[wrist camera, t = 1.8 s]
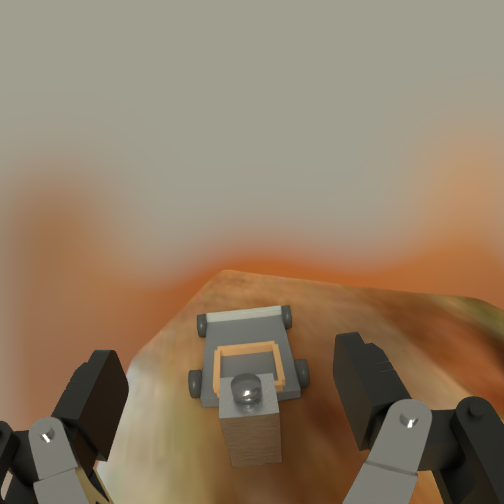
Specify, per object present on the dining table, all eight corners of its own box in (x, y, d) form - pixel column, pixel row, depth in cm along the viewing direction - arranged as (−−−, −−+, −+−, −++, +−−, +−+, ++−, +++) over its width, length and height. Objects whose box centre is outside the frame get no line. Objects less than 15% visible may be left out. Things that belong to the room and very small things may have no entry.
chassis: (202, 326, 52) (198, 308, 50) (288, 317, 52) (287, 298, 51) (193, 407, 35) (186, 388, 34) (310, 396, 35) (311, 376, 34)
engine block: (232, 431, 32) (217, 366, 28) (276, 426, 32) (271, 361, 28) (233, 466, 27) (215, 407, 23) (281, 462, 27) (278, 401, 23)
